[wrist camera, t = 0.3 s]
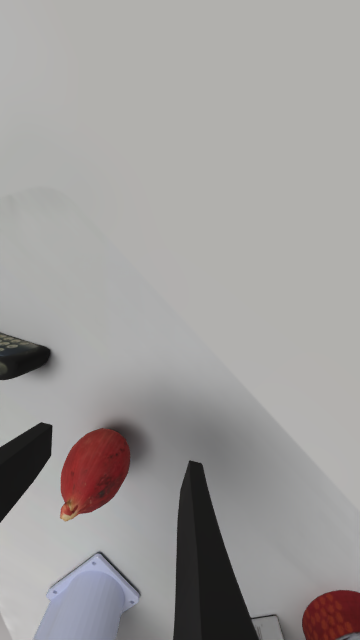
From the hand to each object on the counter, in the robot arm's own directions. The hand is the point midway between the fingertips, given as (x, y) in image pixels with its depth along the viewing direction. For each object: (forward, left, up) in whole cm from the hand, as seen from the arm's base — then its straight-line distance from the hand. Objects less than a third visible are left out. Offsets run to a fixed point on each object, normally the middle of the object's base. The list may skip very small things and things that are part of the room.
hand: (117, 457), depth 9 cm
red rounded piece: (-9, -2, -11) cm, 14 cm away
